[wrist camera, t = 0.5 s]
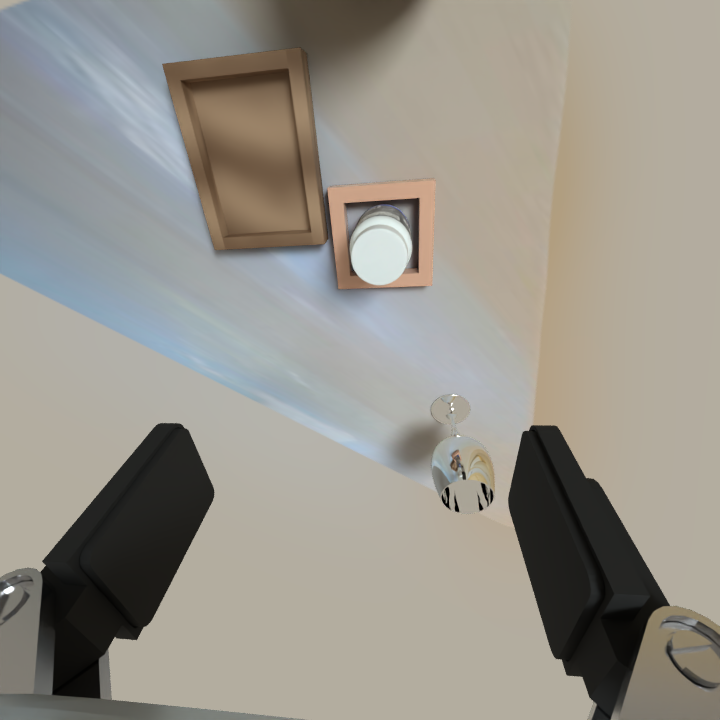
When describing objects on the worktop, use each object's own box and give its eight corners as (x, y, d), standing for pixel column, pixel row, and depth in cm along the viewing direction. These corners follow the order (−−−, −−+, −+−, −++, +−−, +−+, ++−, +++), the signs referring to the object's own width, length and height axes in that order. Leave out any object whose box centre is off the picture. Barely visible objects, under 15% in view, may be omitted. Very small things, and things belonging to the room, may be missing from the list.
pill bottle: (407, 259, 33) (409, 293, 26) (356, 256, 33) (344, 289, 26) (413, 204, 30) (417, 224, 23) (357, 201, 31) (345, 221, 24)
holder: (330, 185, 30) (327, 187, 29) (433, 178, 29) (435, 180, 28) (340, 283, 35) (338, 289, 33) (430, 280, 34) (432, 285, 32)
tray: (177, 68, 27) (162, 63, 25) (306, 53, 26) (300, 47, 24) (224, 244, 34) (214, 250, 32) (328, 238, 33) (324, 244, 31)
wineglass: (426, 389, 40) (435, 473, 30) (478, 389, 40) (506, 476, 30) (424, 427, 43) (432, 516, 33) (473, 428, 43) (496, 519, 33)
